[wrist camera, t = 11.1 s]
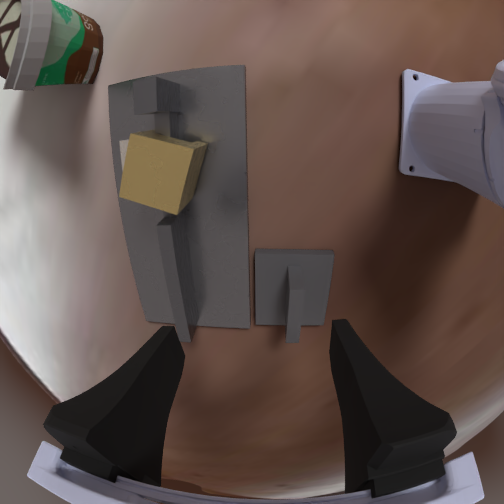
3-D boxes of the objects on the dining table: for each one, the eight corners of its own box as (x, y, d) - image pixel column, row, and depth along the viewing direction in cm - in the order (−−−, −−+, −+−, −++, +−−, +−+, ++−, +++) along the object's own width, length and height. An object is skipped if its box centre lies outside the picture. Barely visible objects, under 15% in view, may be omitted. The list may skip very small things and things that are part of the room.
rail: (245, 66, 16) (236, 50, 11) (250, 322, 25) (246, 363, 21) (113, 86, 16) (74, 83, 12) (149, 315, 26) (130, 351, 21)
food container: (146, 24, 14) (65, -19, 5) (104, 90, 17) (7, 92, 8) (59, -4, 11) (-14, -22, 2) (28, 50, 14) (-50, 51, 5)
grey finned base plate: (332, 250, 21) (343, 277, 18) (322, 319, 24) (328, 351, 21) (255, 248, 22) (252, 276, 18) (256, 318, 25) (253, 350, 21)
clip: (153, 129, 17) (130, 133, 14) (208, 143, 17) (193, 149, 14) (142, 183, 19) (118, 196, 16) (192, 198, 19) (177, 215, 16)
